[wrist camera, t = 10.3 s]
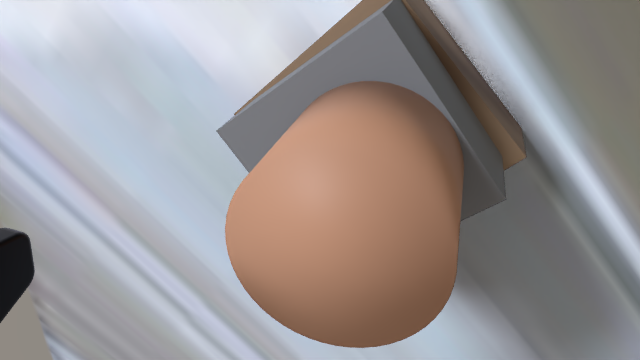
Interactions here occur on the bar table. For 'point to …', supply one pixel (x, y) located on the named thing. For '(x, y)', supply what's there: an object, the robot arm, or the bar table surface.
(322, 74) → the slate block
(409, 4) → the walnut block
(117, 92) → the bar table surface
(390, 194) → the peach rounded block
